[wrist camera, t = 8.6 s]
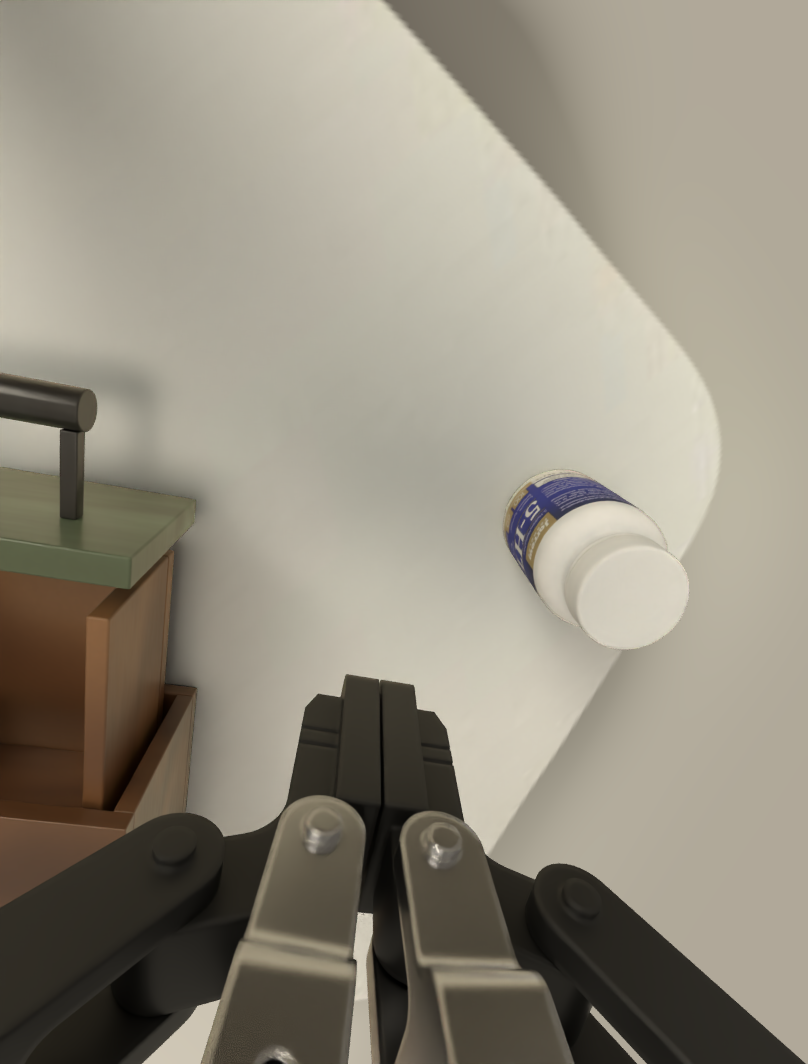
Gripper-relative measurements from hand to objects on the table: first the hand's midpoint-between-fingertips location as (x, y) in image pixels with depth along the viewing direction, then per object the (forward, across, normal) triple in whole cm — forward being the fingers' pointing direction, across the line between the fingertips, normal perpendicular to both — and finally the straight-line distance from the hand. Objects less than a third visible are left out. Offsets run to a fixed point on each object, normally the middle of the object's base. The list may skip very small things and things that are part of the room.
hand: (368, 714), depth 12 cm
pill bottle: (+16, -9, -2) cm, 18 cm away
